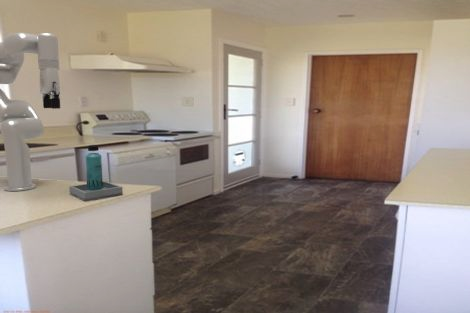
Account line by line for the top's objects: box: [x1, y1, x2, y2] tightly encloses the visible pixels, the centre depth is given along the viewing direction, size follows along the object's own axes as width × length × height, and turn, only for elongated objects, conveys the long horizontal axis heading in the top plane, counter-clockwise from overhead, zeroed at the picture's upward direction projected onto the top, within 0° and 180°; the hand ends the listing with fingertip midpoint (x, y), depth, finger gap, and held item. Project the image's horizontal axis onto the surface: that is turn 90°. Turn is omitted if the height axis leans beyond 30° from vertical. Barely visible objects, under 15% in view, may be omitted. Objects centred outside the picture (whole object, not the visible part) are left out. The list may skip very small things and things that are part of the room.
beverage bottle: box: [85, 144, 104, 191], centre depth 163 cm, size 6×7×20 cm
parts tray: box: [69, 180, 123, 202], centre depth 164 cm, size 16×16×4 cm
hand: (51, 108), depth 159 cm, fingers open, 9 cm apart
